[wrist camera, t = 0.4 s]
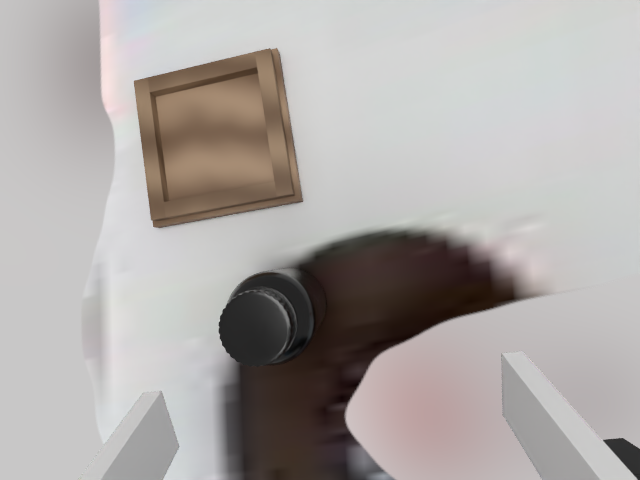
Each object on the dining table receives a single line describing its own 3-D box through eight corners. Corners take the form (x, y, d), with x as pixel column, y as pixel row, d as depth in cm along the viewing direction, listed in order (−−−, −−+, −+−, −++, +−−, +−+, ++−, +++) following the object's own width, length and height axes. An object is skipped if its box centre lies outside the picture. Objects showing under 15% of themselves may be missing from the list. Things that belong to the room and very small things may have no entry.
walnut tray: (302, 201, 34) (298, 198, 32) (159, 227, 36) (147, 226, 34) (279, 54, 36) (274, 42, 34) (141, 86, 37) (128, 77, 35)
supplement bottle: (252, 332, 35) (192, 371, 23) (263, 262, 35) (209, 264, 23) (322, 345, 34) (297, 394, 22) (333, 273, 34) (314, 282, 22)
